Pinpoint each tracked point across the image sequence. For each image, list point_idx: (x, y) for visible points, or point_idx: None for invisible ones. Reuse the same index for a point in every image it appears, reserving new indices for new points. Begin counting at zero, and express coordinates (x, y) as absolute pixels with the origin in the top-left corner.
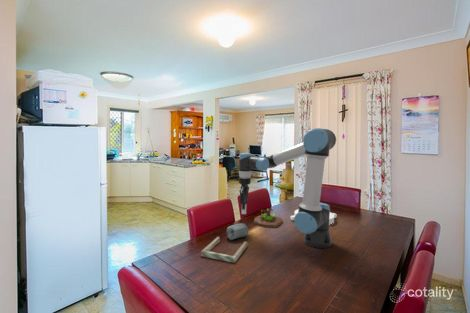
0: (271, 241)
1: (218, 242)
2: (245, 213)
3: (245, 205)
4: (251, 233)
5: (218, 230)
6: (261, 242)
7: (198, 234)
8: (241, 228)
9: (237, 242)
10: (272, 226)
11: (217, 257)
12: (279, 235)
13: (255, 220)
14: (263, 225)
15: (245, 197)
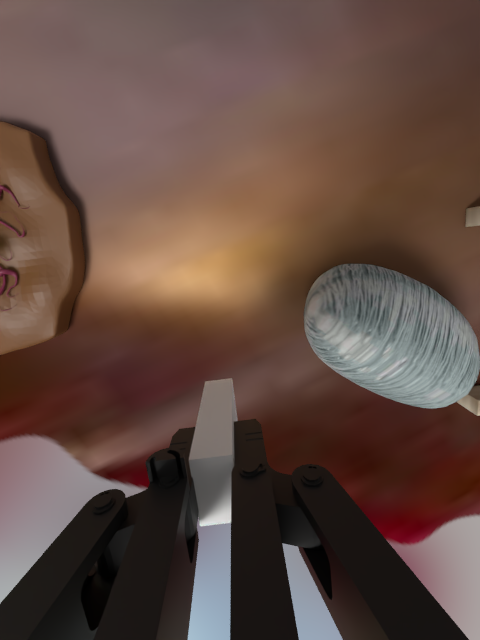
0: (325, 74)
1: (477, 386)
2: (231, 382)
3: (232, 445)
4: (253, 271)
5: None
6: (372, 141)
7: (409, 529)
8: (436, 298)
9: None
10: (46, 163)
11: None
12: (182, 49)
13: (39, 329)
14: (77, 240)
15: (263, 614)
